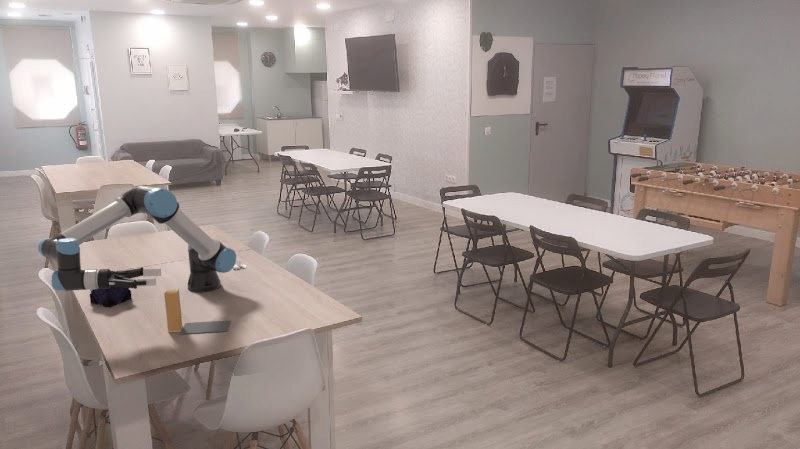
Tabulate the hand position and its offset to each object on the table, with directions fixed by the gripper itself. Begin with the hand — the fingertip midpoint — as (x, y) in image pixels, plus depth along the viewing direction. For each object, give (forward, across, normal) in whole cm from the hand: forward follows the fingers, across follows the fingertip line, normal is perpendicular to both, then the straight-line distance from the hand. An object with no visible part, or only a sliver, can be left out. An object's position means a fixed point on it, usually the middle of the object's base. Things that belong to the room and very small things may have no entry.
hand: (158, 276), depth 233 cm
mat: (+17, +1, -22) cm, 27 cm away
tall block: (+5, 0, -22) cm, 23 cm away
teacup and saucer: (+25, -81, -19) cm, 87 cm away
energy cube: (-27, -42, -22) cm, 55 cm away
